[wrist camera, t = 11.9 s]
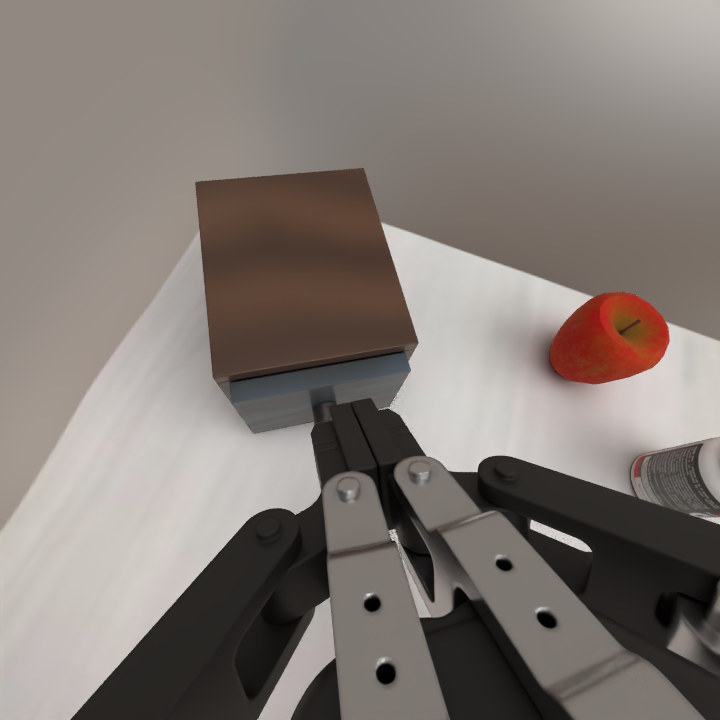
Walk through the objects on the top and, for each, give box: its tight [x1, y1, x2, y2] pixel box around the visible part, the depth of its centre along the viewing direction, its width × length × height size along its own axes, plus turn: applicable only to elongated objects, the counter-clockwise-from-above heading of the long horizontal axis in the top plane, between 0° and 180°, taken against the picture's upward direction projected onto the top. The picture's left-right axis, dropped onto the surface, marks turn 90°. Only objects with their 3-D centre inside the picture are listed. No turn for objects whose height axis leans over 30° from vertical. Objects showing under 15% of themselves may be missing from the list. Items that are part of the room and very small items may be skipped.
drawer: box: [229, 352, 411, 433], centre depth 26 cm, size 14×10×7 cm
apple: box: [550, 292, 669, 384], centre depth 29 cm, size 6×6×8 cm
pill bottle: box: [631, 437, 720, 518], centre depth 25 cm, size 5×5×8 cm
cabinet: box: [196, 168, 418, 402], centre depth 27 cm, size 14×11×9 cm
